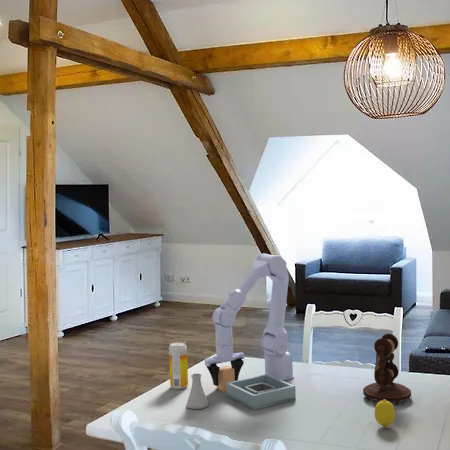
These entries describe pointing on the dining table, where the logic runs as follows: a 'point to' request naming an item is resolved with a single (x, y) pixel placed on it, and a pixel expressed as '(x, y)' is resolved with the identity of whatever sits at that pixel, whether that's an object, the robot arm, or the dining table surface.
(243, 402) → the socket box
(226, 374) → the plug
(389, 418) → the lemon
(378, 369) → the brown tall knobby piece
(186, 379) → the beer can
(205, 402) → the flask
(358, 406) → the dining table surface
